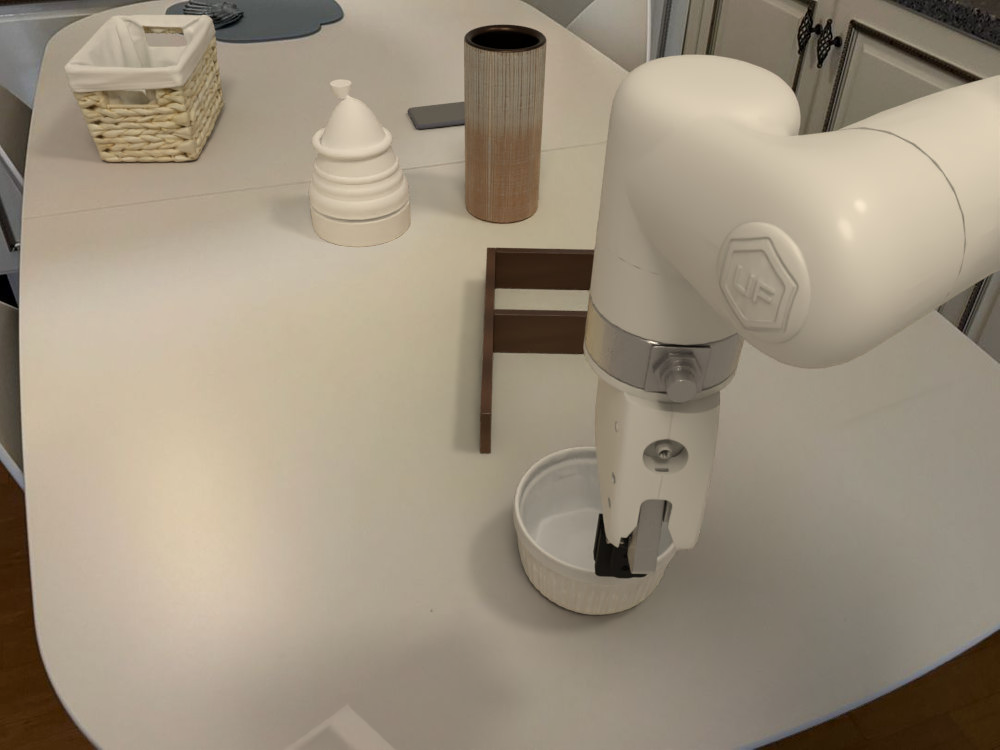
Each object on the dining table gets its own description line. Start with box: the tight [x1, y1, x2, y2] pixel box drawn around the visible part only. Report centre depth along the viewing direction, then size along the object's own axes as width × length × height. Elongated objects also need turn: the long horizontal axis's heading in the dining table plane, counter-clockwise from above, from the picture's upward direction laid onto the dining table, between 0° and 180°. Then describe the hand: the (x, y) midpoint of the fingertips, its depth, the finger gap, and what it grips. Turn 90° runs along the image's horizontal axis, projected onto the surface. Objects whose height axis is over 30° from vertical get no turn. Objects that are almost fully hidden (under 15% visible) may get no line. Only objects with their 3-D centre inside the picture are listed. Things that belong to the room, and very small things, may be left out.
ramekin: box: [512, 445, 678, 616], centre depth 68 cm, size 13×13×7 cm
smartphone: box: [407, 101, 465, 130], centre depth 141 cm, size 8×1×15 cm
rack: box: [479, 247, 595, 454], centre depth 89 cm, size 29×19×5 cm, turn 179°
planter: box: [463, 24, 548, 224], centre depth 110 cm, size 10×10×23 cm
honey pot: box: [308, 79, 411, 248], centre depth 108 cm, size 13×13×18 cm
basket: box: [63, 14, 226, 163], centre depth 129 cm, size 24×16×15 cm
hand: (619, 566), depth 53 cm, fingers closed
